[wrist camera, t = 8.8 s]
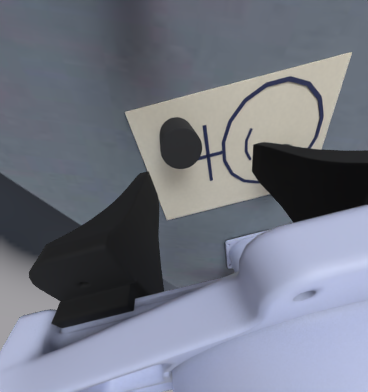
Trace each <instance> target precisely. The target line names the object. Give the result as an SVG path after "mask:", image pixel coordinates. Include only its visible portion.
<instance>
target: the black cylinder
mask: <svg viewBox="0 0 368 392" xmlns="http://www.w3.org/2000/svg"><path fill="white" fill-rule="evenodd" d="M159 136H160V152H161V156H162V158H163V160H164V161H165V163H166V164H167V165H169V166H170V167H172V168H175V169H186V168H189V167H191V166H192V165H194V164H195V163H196V162H197V161H198V159H199V158H200V156H201V153H202V142H201V139H200V138H199V136H198V135H197V133H196V132H195V131H194V129H193V128H192V126H191V125H190V124H189V122H188V121H186V120H185V119H183V118H180V117H174V118H170V119H168V120H167V121H165V122H164V124H163V125H162V127H161V129H160V135H159Z"/></svg>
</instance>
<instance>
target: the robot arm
mask: <svg viewBox="0 0 368 392" xmlns="http://www.w3.org/2000/svg"><path fill="white" fill-rule="evenodd" d="M252 172H253V174H254V176H255V177H256V179H257V180H258V181H259V183H260V184H261V185H262V186H263V187H264V188H265V189H266V190H267V191H268V192H269V193H270V194H271V195H272V197H273V198H274V199H275V200H276V201H277V202H278V203H279V204H280V205H281V206H282V208H283V209H284V210H285V212H286V213H287V214H288V216H289V217H290V218H291V220H292V221H293V223H290V224H286V225H282V226H278V227H275V228H273V229H271V230H268V231H262V232H258V233H254V234H250V235H246V236H242V237H238V238H234V239H230V240H227V241H226V242H225V246H226V257H227V267H228V268H229V269H230V268H233V269H234V272H235V273H233V274H231V275H228V276H226V277H222V278H218V279H213V280H209V281H205V282H201V283H197V284H193V285H189V286H185V287H181V288H177V289H173V290H169V291H165V292H164V287H163V279H162V270H161V261H160V251H159V239H158V229H159V200H158V194H157V192H156V189H155V186H154V184H153V181H152V179H151V176H150V173H149V171H148V172H144V173H140V174H139V175H138V176H137V177H136V178H135V179H134V181H133V182H132V183H131V184H130V185H129V187H128V188H127V189H126V190H125V191H124V192H123V193H122V194H121V195H120V196H119V197H118V198H117V199H116V200H115V201H114V202H113V203H112V204H111V205H110V206H108V207H107V208H106V209H105V210H103V211H102V212H101V213H99V214H98V215H97V216H95V217H94V218H93V219H91V220H90V221H88V222H86V223H85V224H83V225H82V226H80V227H78V228H77V229H75V230H73V231H72V232H70V233H68V234H66V235H64V236H62V237H60V238H58V239H56V240H54V241H53V242H50V243H49V244H47V245H46V246H45V248H44V249H43V251H42V252H41V254H40V256H39V257H38V259H37V261H36V262H35V263H34V265H33V266H32V268H31V270H30V271H29V278H30V280H31V281H32V283H33V284H34V285H35V286H36V287H38V288H39V289H40V290H42V291H44V292H46V293H47V294H49V295H51V296H52V297H54V298H56V299H58V300H59V301H61V302H60V304H59V306H58V309H57V310H51V309H50V310H44V311H40V312H36V313H32V314H27V315H23V316H21V317H20V318H19V319H18V321H17V323H16V325H15V326H14V328H13V330H12V332H11V334H10V335H9V337H8V339H7V341H6V342H5V344H4V346H3V348H2V349H1V351H0V392H163V391H168V390H173V392H368V151H338V150H321V149H311V148H302V147H296V146H289V145H283V144H277V143H269V142H261V143H257V144H253V159H252Z"/></svg>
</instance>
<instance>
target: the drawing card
mask: <svg viewBox="0 0 368 392" xmlns="http://www.w3.org/2000/svg"><path fill="white" fill-rule="evenodd" d="M351 54H352V52H350V53H346V54H342V55H338V56H335V57H331V58H327V59H323V60H319V61H316V62H312V63H308V64H304V65H300V66H297V67H293V68H289V69H285V70H282V71H278V72H274V73H270V74H266V75H263V76H259V77H255V78H251V79H247V80H244V81H240V82H236V83H232V84H229V85H225V86H221V87H217V88H213V89H210V90H206V91H202V92H198V93H194V94H191V95H187V96H183V97H179V98H176V99H172V100H168V101H164V102H160V103H157V104H153V105H149V106H145V107H141V108H138V109H134V110H130V111H126V112H125V114H126V117H127V120H128V122H129V125H130V127H131V130H132V132H133V135H134V137H135V140H136V143H137V145H138V148H139V150H140V153H141V155H142V158H143V160H144V163H145V165H146V168H147V171H149V173H150V176H151V179H152V181H153V184H154V186H155V189H156V192H157V194H158V199H159V201H160V204H161V206H162V209H163V211H164V214H165V216H166V219H167V220H170V219H174V218H178V217H182V216H186V215H190V214H194V213H198V212H202V211H205V210H209V209H213V208H217V207H221V206H225V205H229V204H233V203H237V202H241V201H245V200H249V199H253V198H257V197H261V196H265V195H269V194H270V193H269V192H268V191H267V190H266V189H265V188H264V187H263V186H262V185H261V184H260V183H259V181H258V180H257V179H256V177H255V176H254V174H253V172H252V159H253V144H257V143H261V142H269V143H277V144H290V145H292V146H296V147H302V148H311V149H322V146H323V143H324V140H325V136H326V133H327V130H328V127H329V124H330V121H331V117H332V114H333V111H334V108H335V105H336V102H337V98H338V95H339V92H340V89H341V86H342V83H343V79H344V76H345V73H346V70H347V67H348V64H349V61H350V57H351ZM174 117H180V118H183V119H185V120H186V121H188V122H189V124H190V125H191V126H192V128H193V129H194V131H195V132H196V133H197V135H198V136H199V138H200V139H201V142H202V153H201V156H200V158H199V159H198V161H197V162H196V163H195V164H194V165H192V166H191V167H189V168H186V169H175V168H172V167H170V166H169V165H167V164H166V163H165V161H164V160H163V158H162V156H161V152H160V136H159V135H160V129H161V127H162V125H163V124H164V122H165V121H167V120H168V119H170V118H174Z"/></svg>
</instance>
